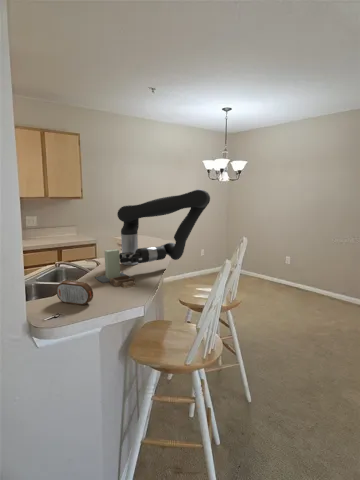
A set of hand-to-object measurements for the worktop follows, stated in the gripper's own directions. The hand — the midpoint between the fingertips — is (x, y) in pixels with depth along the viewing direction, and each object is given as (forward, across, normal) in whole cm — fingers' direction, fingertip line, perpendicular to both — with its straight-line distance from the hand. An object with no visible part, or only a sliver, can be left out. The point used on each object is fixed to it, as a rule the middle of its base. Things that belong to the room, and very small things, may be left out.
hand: (116, 259), depth 152 cm
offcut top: (+1, +16, +9) cm, 18 cm away
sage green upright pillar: (+2, 0, +8) cm, 9 cm away
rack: (+1, +10, +9) cm, 13 cm away
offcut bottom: (+1, +16, +10) cm, 18 cm away
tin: (+27, +24, +9) cm, 37 cm away
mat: (+2, 0, +9) cm, 9 cm away
